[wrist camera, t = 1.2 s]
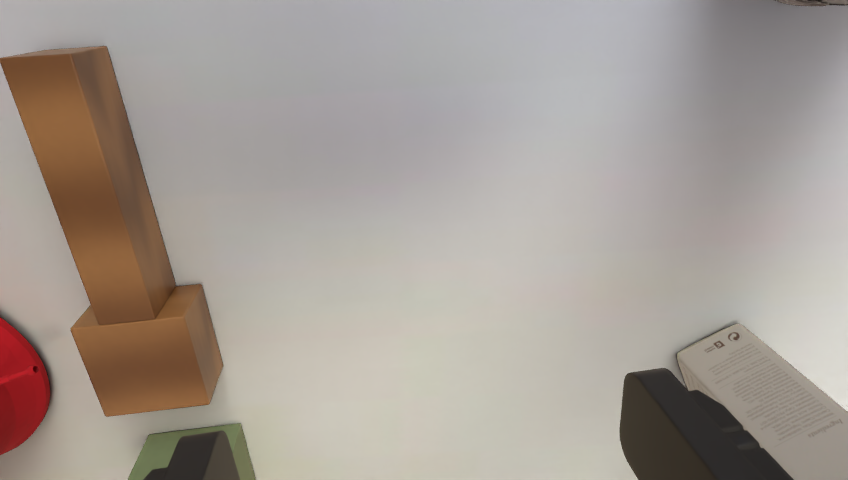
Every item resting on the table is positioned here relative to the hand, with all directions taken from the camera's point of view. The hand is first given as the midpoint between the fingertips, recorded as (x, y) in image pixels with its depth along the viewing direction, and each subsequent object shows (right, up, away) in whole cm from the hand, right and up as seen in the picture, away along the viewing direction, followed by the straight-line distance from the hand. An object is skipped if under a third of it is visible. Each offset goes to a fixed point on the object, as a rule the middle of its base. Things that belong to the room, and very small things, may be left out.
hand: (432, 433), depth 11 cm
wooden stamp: (-14, +5, +14) cm, 20 cm away
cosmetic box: (+18, -4, +22) cm, 28 cm away
